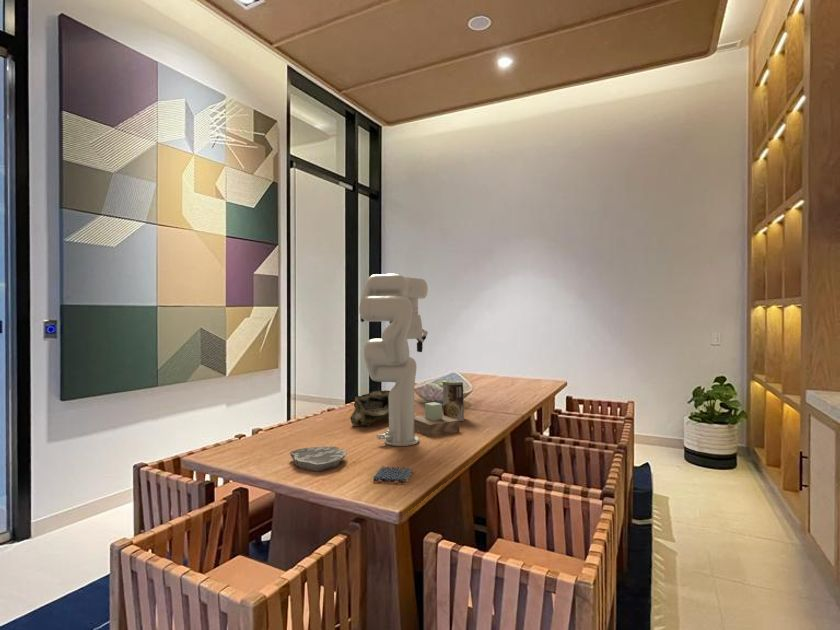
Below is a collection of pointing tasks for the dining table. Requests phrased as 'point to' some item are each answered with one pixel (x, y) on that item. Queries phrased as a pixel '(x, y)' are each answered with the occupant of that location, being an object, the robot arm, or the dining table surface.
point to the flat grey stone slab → (318, 457)
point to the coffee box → (453, 400)
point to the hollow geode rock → (370, 408)
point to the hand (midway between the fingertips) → (409, 352)
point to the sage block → (433, 411)
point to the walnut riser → (436, 425)
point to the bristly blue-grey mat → (393, 475)
